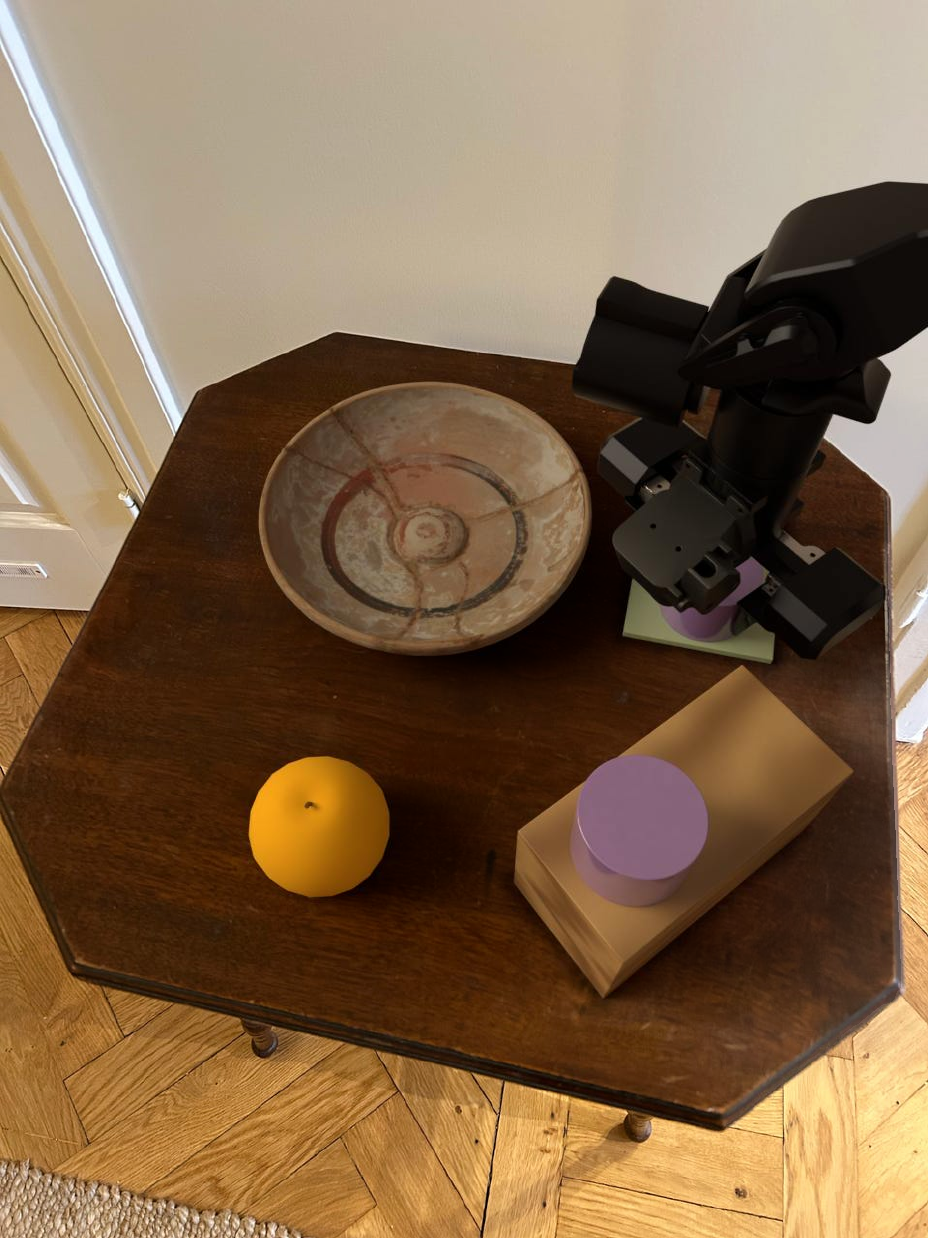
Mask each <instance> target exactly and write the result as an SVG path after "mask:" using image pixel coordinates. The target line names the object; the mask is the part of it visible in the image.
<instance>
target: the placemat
mask: <svg viewBox="0 0 928 1238" xmlns="http://www.w3.org/2000/svg"><path fill="white" fill-rule="evenodd" d="M762 567H763V566H762ZM768 573H770V572H768V571H767V570H766V569H765V568H764V567H763V580H762V584H763V583H765V578H766V576H767V574H768ZM631 578H632V577H631ZM762 584H761V585H762ZM627 601H628V602H627V608H626V613H625V619H624V623H623V631H622V637H626V638H631V639H636V640H642V641H647V642H651V643H657V644H662V645H668V646H673V647H679V648H684V649H689V650H694V651H699V652H705V653H711V654H716V655H720V656H727V657H731V658H737V659H742V660H748V661H752V662H759V663H763V664H767V665H768V664H769V665H771V664H772V663H773V660H774V650H775V637H776V635H775V634H774V633H771V632H768V631H766V630H765V629H764V628H762V627H761V626H760V625H759V624H758V623H755V624H753V625H752V626H750V627H749V628H747V629H746V630H745V631H743V632H742V633H740V634H739V635H738V636H736V637H735V636H734V635H733V636H731V637H729V638H727V639H725V640H722V641H717V642H699V641H694V640H691V639H688V638H686V637H684V636H682V635H680V634H679V633H677V632H676V631H674V630H673V629H672V628H671V627H670V626H669V625H668V624H667V622H666V621H665V619H664V618H663V616H662V613H661V611H660V606H659V603H658V602H656V601H655V600H654V599H653V598H652V597H651V595H650V594H649V593H648V592H647V591H646V590H645V589H644V588H643V587H642V586H641V585H640V584H638V583H637V582H636V581H635V580H634V579H633V578H632V580H631V584H630V590H629V596H628V600H627Z"/></svg>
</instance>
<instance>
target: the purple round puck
mask: <svg viewBox="0 0 928 1238" xmlns="http://www.w3.org/2000/svg"><path fill="white" fill-rule="evenodd" d="M735 569H737V570H738V571H739V572H740V577H741V583H740V584H739V586H738V587H737V589H736V590H735V591H734V592H733V593H731V594H730V595H729V596H728V597H727V598H726V599H725V600H724V601H722V602H721V603H720V604H719V605H718V606H717V607H716V608H715V609H713V610H712V611H711V612H710V613H708V614H706V615H701V614H700V613H699V612H698V611H697V610H696V609H695V608H688V609H687V610H685V611H684V612H682V613H679V612H678V611H677V610H676V609H675V608H674V607H673V606H672V607H667V606H663V605H660V604H659V606H660V611H661V613H662V616H663V618H664V619H665V621H666V622H667V624H668V625H669V626H670V627H671V628H672V629H673V630H674V631H676V632H677V633H679V634H680V635H682V636H684V637H686V638H688V639H691V640H694V641H699V642H717V641H722V640H725V639H727V638H729V637H731V636H733V634H732V628H733V624H734V622H735V620H736V618H737V616H738V615H739V613H740V611H741V609H742V608H740V607H739V606H738V605H737V604H736V603H737V602H738V601H739V600H741V599H742V598H743V597H745V596H746V595H748V594H749V593H750V592H752V591H753V590H755V589H756V588H757V587H759V586H760V585H761V584H762V580H763V567H762V565H760V564H759V563H758V562H757V561H756V560H755V559H754V558H752V557H750V558H749V559H748V560H747V561H745V562H744V563H742V564H741V565H739V566H738V567H737V568H735Z"/></svg>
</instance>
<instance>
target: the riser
mask: <svg viewBox="0 0 928 1238" xmlns="http://www.w3.org/2000/svg"><path fill="white" fill-rule="evenodd" d="M626 755H648V756H653V757H657V758H660V759H663V760H665V761H667V762H669V763H671V764H673V765H675V766H676V767H678V768H679V769H681V770H682V771H683V772H684V773H685V774H686V775H688V776H689V777H690V778H691V780H692V781H693V782H694V783H695V784H696V786H697V787H698V789H699V790H700V792H701V794H702V796H703V798H704V801H705V803H706V806H707V811H708V816H709V831H708V836H707V840H706V843H705V846H704V848H703V850H702V852H701V853H700V855H699V857H698V858H697V860H696V862H695V863H694V865H693V866H692V868H691V870H690V871H689V873H688V875H687V876H686V878H685V879H684V881H683V883H682V884H681V885H680V887H679V888H678V889H677V890H676V891H675V892H674V893H673V894H672V895H670V896H669V897H668V898H666V899H664V900H662V901H660V902H658V903H655V904H652V905H648V906H642V907H630V906H623V905H619V904H616V903H613V902H610V901H608V900H606V899H604V898H602V897H601V896H599V895H598V894H596V893H595V892H594V891H593V890H592V889H590V888H589V887H588V886H587V884H586V883H585V882H584V881H583V880H582V878H581V877H580V875H579V874H578V872H577V870H576V868H575V866H574V863H573V860H572V856H571V852H570V834H571V828H572V824H573V820H574V815H575V811H576V806H577V802H578V797H579V794H580V791H581V789H582V787H583V785H584V783H585V781H583V782H582V783H580V784H579V785H578V786H576V787H575V788H574V789H572V790H571V791H569V793H567V794H565V795H564V796H563V797H562V798H560V799H559V800H557V801H556V802H555V803H553V804H552V805H550V806H549V807H548V808H546V809H545V810H543V812H541V813H540V814H538V815H537V816H536V817H535V818H533V819H531V820H530V821H529V822H528V823H526V824H525V825H524V826H522V827H521V828H520V829H518V830H517V837H516V851H515V861H514V875H513V884H514V885H515V886H516V887H517V889H518V891H519V892H520V893H521V894H522V896H524V898H525V899H526V900H527V902H528V903H529V904H530V906H531V907H532V909H533V910H534V911H535V913H536V914H537V915H538V916H539V917H540V919H541V920H542V921H543V923H544V924H545V925H546V926H547V928H548V929H549V931H550V932H551V933H552V934H553V935H554V937H555V938H556V939H557V941H558V942H559V944H560V945H561V946H562V947H563V949H564V950H565V951H566V953H567V954H568V955H569V956H570V957H571V959H572V960H573V961H574V963H575V964H576V965H577V966H578V968H579V969H580V971H581V972H582V973H583V975H584V976H585V977H586V979H588V981H589V982H590V984H591V985H592V987H594V988H595V990H596V991H597V993H598V995H600V996H601V998H602V999H605V998H606V997H607V996H609V995H610V994H611V993H613V992H614V991H615V990H616V989H617V988H618V987H620V986H621V985H622V984H623V983H624V982H625V981H627V979H629V978H630V977H632V975H634V974H635V973H636V972H638V970H640V969H641V968H642V967H643V966H644V965H646V963H648V962H649V961H650V960H651V959H652V958H654V957H655V956H656V955H657V954H659V953H660V952H661V951H662V950H663V949H664V948H666V947H667V946H669V944H670V943H672V942H673V941H674V940H675V939H676V938H677V937H679V936H680V935H682V933H684V932H685V931H686V930H687V929H688V928H690V927H691V926H692V925H693V924H694V923H695V922H696V921H698V920H699V919H700V918H701V917H703V916H704V915H705V914H706V913H707V912H708V911H709V910H711V909H712V908H713V907H714V906H715V905H717V904H718V903H719V902H720V901H722V900H723V899H724V898H725V897H726V896H727V895H728V894H730V893H731V892H733V890H734V889H736V888H737V887H738V886H739V885H740V884H742V883H743V882H744V881H745V880H746V879H747V878H749V877H750V876H751V875H752V874H753V873H755V872H756V871H758V869H759V868H761V867H762V866H763V865H764V864H766V862H768V861H769V860H770V859H772V858H773V856H775V855H776V854H777V853H778V852H780V851H781V850H782V849H783V848H785V847H786V846H787V845H788V844H789V843H791V841H793V840H794V839H795V838H796V837H797V836H799V835H800V834H801V833H802V832H803V831H804V830H805V829H807V826H809V825H810V824H811V823H812V821H813V820H814V819H815V818H816V817H817V815H818V814H819V813H820V812H821V811H822V809H823V808H824V807H825V806H826V805H827V804H828V802H830V800H831V799H832V798H833V797H834V796H835V794H836V793H837V792H838V791H839V790H840V789H841V788H842V787H843V785H844V784H845V783H846V782H847V780H849V778H850V777H851V776H852V775H853V773H854V772H855V771H854V769H853V768H852V767H851V766H850V765H849V764H847V762H846V761H844V760H843V759H842V757H840V755H838V754H837V753H836V752H835V751H834V750H832V748H831V747H830V746H829V745H828V744H826V743H825V741H824V740H822V739H821V738H820V737H819V736H818V735H817V734H816V733H815V732H814V731H813V730H812V729H811V728H810V727H808V725H806V723H804V722H803V721H802V720H801V719H800V718H799V717H798V716H797V715H796V714H795V713H794V712H793V711H792V710H791V709H790V708H789V707H787V706H786V704H784V702H782V701H781V699H779V698H778V697H777V696H776V695H775V694H774V693H773V692H772V691H771V690H769V688H768V687H766V685H764V684H763V683H762V681H760V680H759V679H758V678H757V677H756V676H755V675H754V674H753V673H752V672H751V671H750V670H749V669H748V668H747V667H745V665H743V664H742V665H740V666H738V667H737V668H736V669H734V670H733V671H732V672H730V673H729V674H728V675H726V676H725V677H724V678H722V679H721V680H719V681H718V682H717V683H716V684H714V685H712V687H710V688H709V689H708V690H706V691H705V692H703V693H702V694H700V695H699V696H698V697H697V698H695V699H694V700H693V701H691V702H690V703H688V704H687V705H685V706H684V707H683V708H681V709H680V710H679V711H678V712H676V713H675V714H674V715H673V716H671V717H669V718H668V719H667V720H666V721H664V722H663V723H661V724H660V725H659V726H657V727H656V728H655V729H653V730H652V731H651V732H650V733H649V732H648V734H646V735H645V736H644V737H643V738H641V739H640V740H638V741H637V742H635V744H633V745H632V746H630V747H629V748H627V749H626V750H625V751H623V753H621V754H619V755H618V756H617V757H621V756H626Z"/></svg>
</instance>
